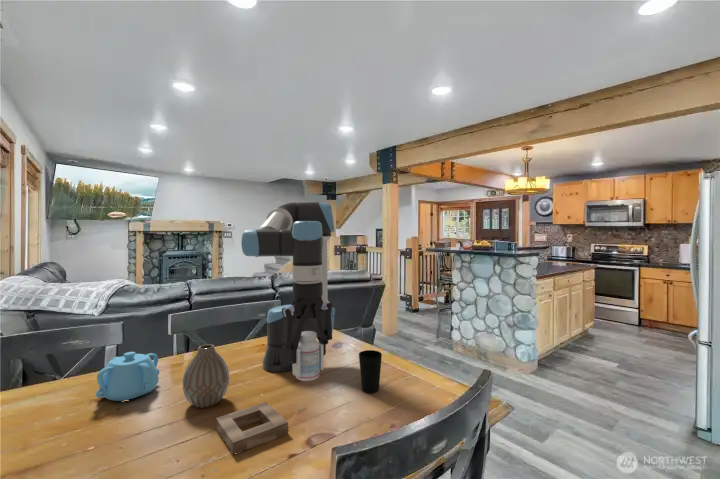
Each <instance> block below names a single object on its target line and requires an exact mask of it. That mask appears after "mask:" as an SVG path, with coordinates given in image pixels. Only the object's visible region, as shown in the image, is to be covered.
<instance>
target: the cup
mask: <svg viewBox="0 0 720 479" xmlns="http://www.w3.org/2000/svg"><path fill="white" fill-rule="evenodd" d="M382 355H383V354H382V352H381V351H378V350H373V349H369V350H367V349H366V350H362V351H360V352H359V353H358V359H359V360H358V361H359V372H360V380H361V390H362V392H363V393H366V394H368V395H369V394H370V395H371V394H377V393H378V392H379V389H380V380H381V371H382V370H381V367H382V357H383V356H382Z"/></svg>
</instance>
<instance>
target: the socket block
mask: <svg viewBox="0 0 720 479" xmlns="http://www.w3.org/2000/svg"><path fill="white" fill-rule="evenodd" d="M259 421H260V423H262V424H259V425H257V426H254V427H251V428H248V429H245V430H242V429H241V428H243V427H245V426H249V425H251V423H252V424H254V423H257V422H259ZM248 424H249V425H248ZM239 427H240V428H239ZM216 429H217V430H218V432H219V433H220V435H221V436H222V438H223V439H224V441H225V442H226V444H227V445H228V447H229V448H230V450H231V451H232V453H233V454H235V453H238V452H241V451H244V450H246V451H248V450H247V449H249V448H251V449H253V448H252V447H254V446H256V447H258V446H257V445H259V446H261V445H264V444H266V443H268V441H269V442H271V441H273V440H276V439H278V437H279V438H281V437H283V436H287V435H288V434H289V422H288V420H286V419H285V418H284V417H283V416H282V415H281V414H280V413H279V412H278V411H277V410H276V409H274V407H273V406H272V405H271V404H269V403H268V402H267V401H264V402H262V403H259V404H255V405H252V406H248V407H246V408H243V409H240V410H236V411H233V412H230V413H226V414H224V415H221V416H218V417H215V430H216ZM217 430H216V431H217ZM218 432H217V433H218ZM219 433H218V434H219ZM220 435H219V436H220ZM221 436H220V437H221ZM222 438H221V439H222ZM223 439H222V440H223ZM224 441H223V442H224ZM225 442H224V443H225ZM263 443H264V444H263ZM226 444H225V445H226ZM260 444H261V445H260ZM227 445H226V446H227ZM228 447H227V448H228ZM229 448H228V449H229ZM254 448H255V447H254ZM230 450H229V451H230ZM249 450H250V449H249ZM231 451H230V452H231ZM244 452H245V451H244ZM232 453H231V454H232ZM241 453H242V452H241ZM233 454H232V455H233ZM238 454H239V453H238Z"/></svg>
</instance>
